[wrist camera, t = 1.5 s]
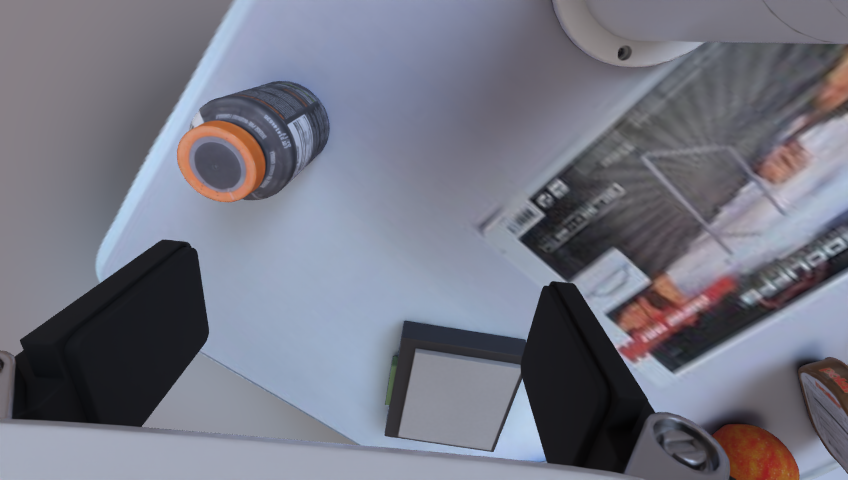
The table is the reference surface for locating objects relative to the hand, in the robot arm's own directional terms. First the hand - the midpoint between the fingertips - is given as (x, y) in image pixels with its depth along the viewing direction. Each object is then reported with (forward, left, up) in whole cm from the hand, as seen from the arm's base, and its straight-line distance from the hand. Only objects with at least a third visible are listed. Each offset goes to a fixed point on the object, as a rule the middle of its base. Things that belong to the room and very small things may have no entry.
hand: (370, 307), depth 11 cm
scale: (+25, +8, -21) cm, 33 cm away
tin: (+19, +44, -22) cm, 52 cm away
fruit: (+26, +39, -22) cm, 51 cm away
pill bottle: (+1, -9, -22) cm, 24 cm away
